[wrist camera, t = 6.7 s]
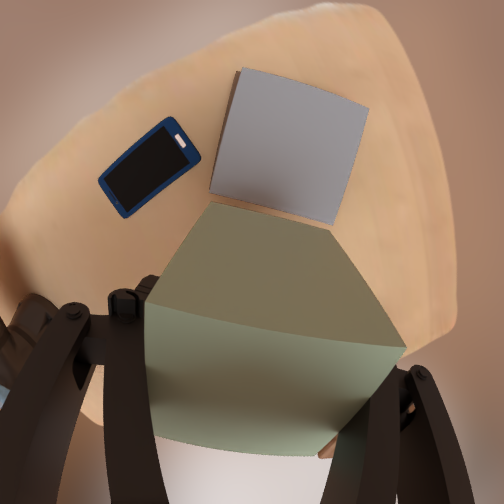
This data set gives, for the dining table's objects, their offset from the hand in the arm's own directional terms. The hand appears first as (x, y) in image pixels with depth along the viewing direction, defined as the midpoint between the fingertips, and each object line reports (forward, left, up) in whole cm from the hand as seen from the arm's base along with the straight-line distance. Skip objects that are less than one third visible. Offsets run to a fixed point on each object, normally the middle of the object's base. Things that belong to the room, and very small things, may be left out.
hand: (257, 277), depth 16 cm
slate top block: (+2, +8, -16) cm, 18 cm away
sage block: (0, 0, -1) cm, 1 cm away
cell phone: (-15, +2, -20) cm, 25 cm away
